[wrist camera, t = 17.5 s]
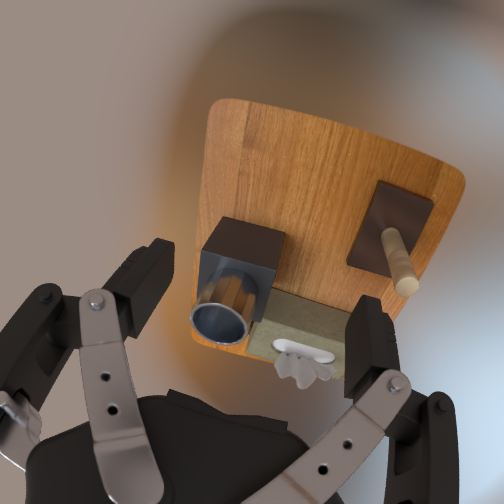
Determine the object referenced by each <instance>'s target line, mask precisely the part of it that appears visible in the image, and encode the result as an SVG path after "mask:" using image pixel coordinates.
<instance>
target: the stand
mask: <svg viewBox="0 0 504 504" xmlns="http://www.w3.org/2000/svg"><path fill="white" fill-rule="evenodd" d="M284 237H285V233H284V232H281V231H277V230H273V229H269V228H266V227H262V226H258V225H254V224H250V223H247V222H243V221H239V220H235V219H231V218H227V217H222V219H221V220H220V222H219V223H218V225H217V226H216V228H215V229H214V231H213V232H212V234H211V236H210V237H209V239H208V240H207V242H206V243H205V245H204V246H203V248H202V250H201V256H200V267H199V278H198V289H197V299H198V297H199V295H200V293H201V291H202V289H203V287H204V285H205V283H206V282H207V280H208V278H209V276H210V275H211V274H212V273H213V272H214V271H215V270H218V269H221V268H236V269H238V270H241V271H243V272H245V273H247V274H248V275H249V276H250V277H252V278H253V280H254V281H255V282H256V284H257V286H258V289H259V297H258V301H257V304H256V308H255V311H254V314H253V318H252V321H255V322H259V323H261V322H262V318H263V315H264V312H265V308H266V305H267V302H268V298H269V295H270V292H271V288H272V285H273V281H274V278H275V275H276V271H277V267H278V263H279V258H280V254H281V250H282V246H283V241H284Z"/></svg>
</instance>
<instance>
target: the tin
mask: <svg viewBox="0 0 504 504" xmlns="http://www.w3.org/2000/svg"><path fill="white" fill-rule="evenodd" d="M258 297H259V289H258V286H257V284H256V282H255V281H254V280H253V278H252V277H250V276H249V275H248V274H247V273H245V272H243V271H241V270H238V269H236V268H221V269H218V270H215V271H214V272H213V273H212V274H211V275H210V276H209V278H208V280H207V282H206V283H205V285H204V287H203V289H202V291H201V293H200V295H199V297H198V299H197V301H196V303H195V305H194V307H193V309H192V311H191V314H190V321H191V325H192V327H193V328H194V329H195V331H196V332H197V333H198V334H199V335H200V336H202V337H203V338H204V339H206V340H208V341H210V342H213V343H215V344H220V345H235V344H238V343H240V342H242V341H243V340H245V338H246V336H247V334H248V331H249V328H250V325H251V321H252V318H253V314H254V311H255V308H256V304H257V301H258Z"/></svg>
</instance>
